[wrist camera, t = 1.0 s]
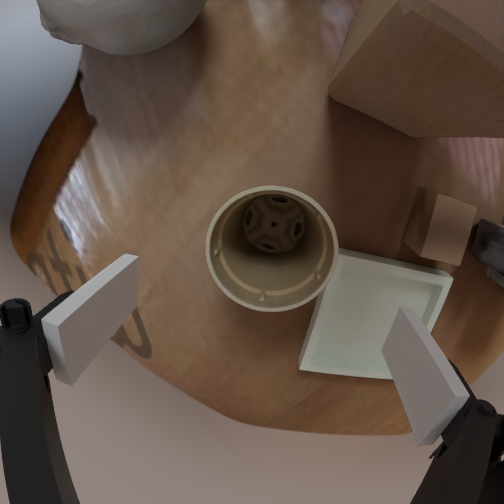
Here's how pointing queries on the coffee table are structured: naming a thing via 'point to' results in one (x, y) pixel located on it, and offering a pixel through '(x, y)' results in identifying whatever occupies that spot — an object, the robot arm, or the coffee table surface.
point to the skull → (119, 22)
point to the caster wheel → (490, 248)
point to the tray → (367, 312)
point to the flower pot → (271, 260)
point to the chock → (439, 226)
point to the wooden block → (426, 66)
